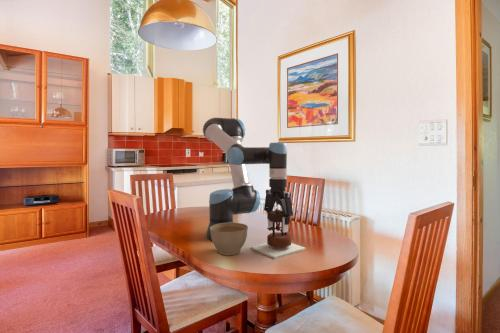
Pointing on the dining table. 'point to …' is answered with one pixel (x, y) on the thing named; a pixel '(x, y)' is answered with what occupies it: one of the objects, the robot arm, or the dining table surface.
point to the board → (277, 250)
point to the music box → (278, 229)
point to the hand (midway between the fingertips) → (277, 229)
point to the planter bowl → (229, 237)
